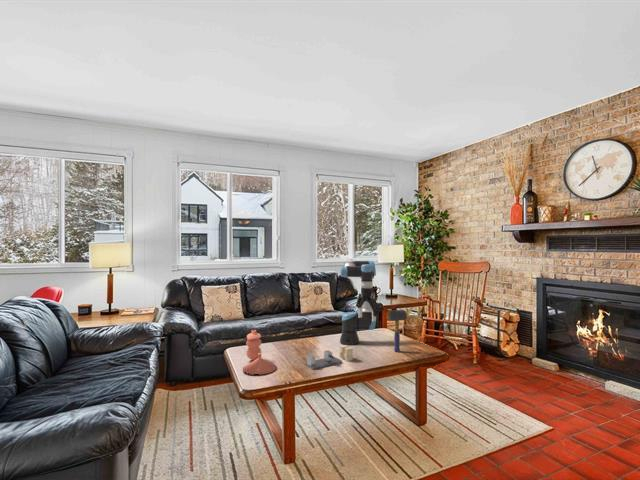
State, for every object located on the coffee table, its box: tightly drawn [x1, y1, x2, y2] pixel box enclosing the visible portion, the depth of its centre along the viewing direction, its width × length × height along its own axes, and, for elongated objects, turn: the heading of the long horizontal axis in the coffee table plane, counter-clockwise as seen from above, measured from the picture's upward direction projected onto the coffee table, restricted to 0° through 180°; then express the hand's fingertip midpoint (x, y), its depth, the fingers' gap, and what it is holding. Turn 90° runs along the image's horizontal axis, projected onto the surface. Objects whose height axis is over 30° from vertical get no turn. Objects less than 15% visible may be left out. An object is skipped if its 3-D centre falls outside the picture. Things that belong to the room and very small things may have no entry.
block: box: [339, 344, 354, 362], centre depth 233 cm, size 8×5×8 cm, turn 32°
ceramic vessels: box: [242, 329, 278, 375], centre depth 223 cm, size 35×21×19 cm, turn 22°
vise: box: [304, 353, 343, 370], centre depth 224 cm, size 10×22×7 cm, turn 122°
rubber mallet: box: [387, 309, 408, 353], centre depth 247 cm, size 12×8×30 cm, turn 104°
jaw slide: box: [323, 350, 335, 362], centre depth 224 cm, size 8×3×6 cm, turn 32°
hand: (366, 319), depth 233 cm, fingers open, 13 cm apart
